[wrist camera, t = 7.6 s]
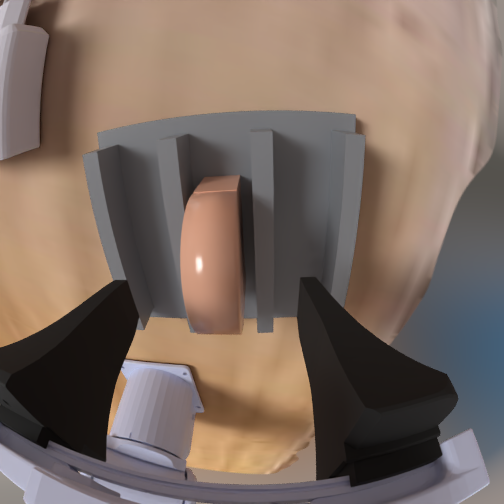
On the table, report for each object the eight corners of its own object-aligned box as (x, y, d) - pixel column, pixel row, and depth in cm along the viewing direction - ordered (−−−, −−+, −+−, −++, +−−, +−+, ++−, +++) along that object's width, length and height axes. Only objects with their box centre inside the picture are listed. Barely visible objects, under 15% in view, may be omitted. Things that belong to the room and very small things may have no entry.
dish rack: (332, 305, 21) (342, 338, 18) (144, 308, 21) (131, 338, 18) (349, 114, 14) (373, 116, 11) (105, 131, 14) (74, 138, 11)
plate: (246, 280, 18) (241, 364, 12) (216, 280, 18) (200, 363, 12) (240, 175, 15) (228, 224, 9) (204, 176, 15) (168, 227, 9)
